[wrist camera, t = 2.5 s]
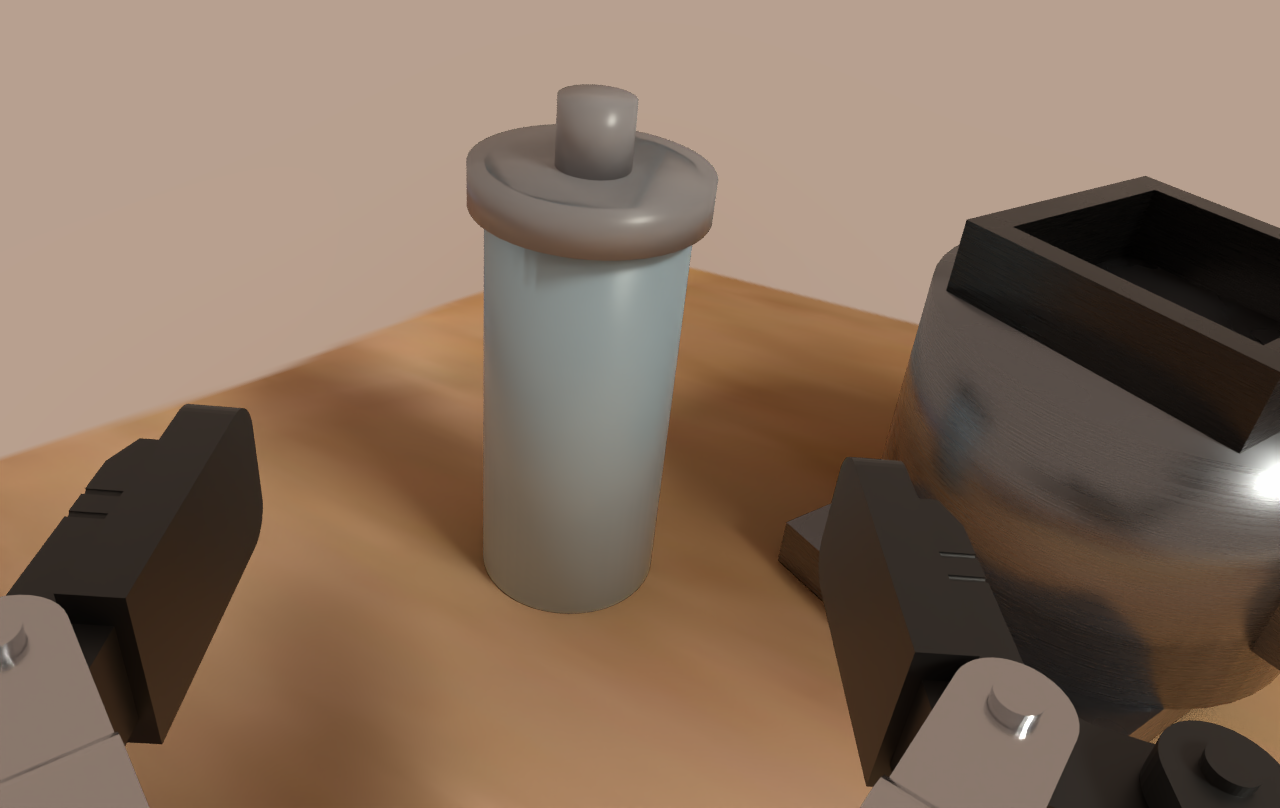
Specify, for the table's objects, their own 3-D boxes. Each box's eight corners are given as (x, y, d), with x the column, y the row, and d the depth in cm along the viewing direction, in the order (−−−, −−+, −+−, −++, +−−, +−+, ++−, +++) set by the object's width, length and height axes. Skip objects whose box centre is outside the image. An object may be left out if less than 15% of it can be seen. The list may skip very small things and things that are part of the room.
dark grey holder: (1035, 421, 38) (1141, 141, 32) (1434, 669, 29) (1692, 342, 23) (757, 540, 31) (825, 208, 25) (1169, 921, 21) (1442, 542, 15)
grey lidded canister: (597, 470, 33) (632, 52, 25) (703, 578, 29) (781, 123, 22) (436, 526, 30) (421, 70, 22) (530, 654, 26) (550, 156, 19)
